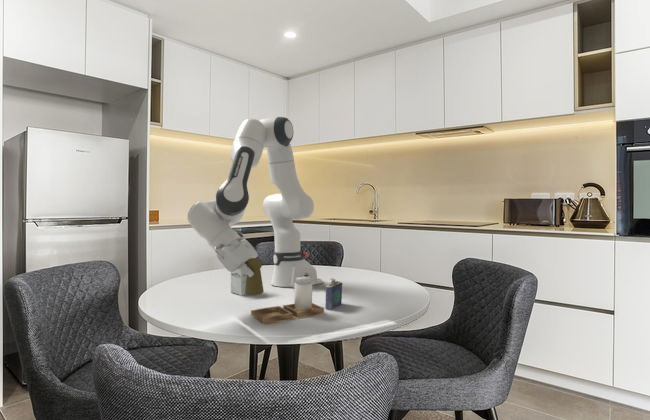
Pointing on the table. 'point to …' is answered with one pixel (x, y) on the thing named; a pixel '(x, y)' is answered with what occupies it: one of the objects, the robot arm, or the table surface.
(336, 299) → the flask
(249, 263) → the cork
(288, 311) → the caddy
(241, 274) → the supplement box
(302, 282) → the salt shaker
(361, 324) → the table surface
